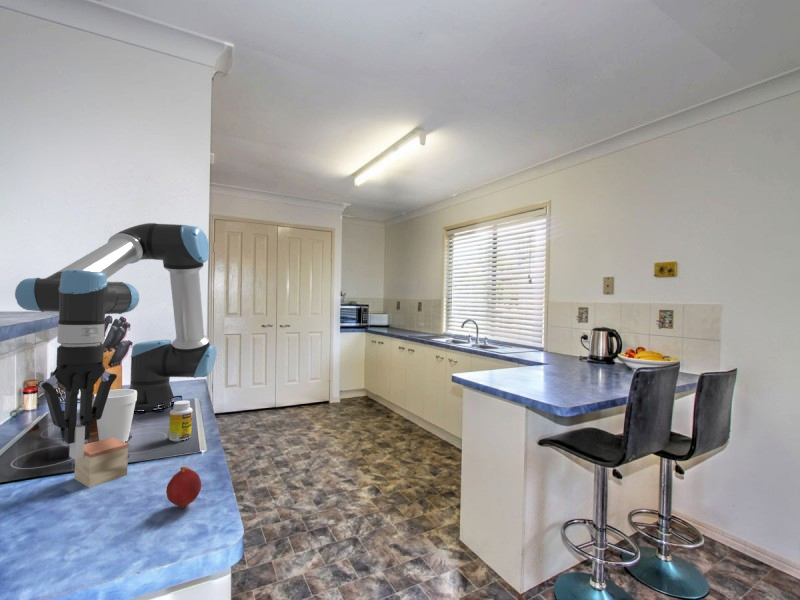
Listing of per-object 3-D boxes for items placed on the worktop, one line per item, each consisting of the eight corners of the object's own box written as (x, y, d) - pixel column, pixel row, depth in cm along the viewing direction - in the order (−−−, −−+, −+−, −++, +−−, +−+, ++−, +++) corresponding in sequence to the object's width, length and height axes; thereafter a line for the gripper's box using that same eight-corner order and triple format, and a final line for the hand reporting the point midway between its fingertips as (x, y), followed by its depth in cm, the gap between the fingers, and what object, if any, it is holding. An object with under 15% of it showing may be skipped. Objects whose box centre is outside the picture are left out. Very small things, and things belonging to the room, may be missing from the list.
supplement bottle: (181, 443, 104) (183, 405, 104) (163, 441, 105) (165, 403, 105) (196, 436, 109) (197, 400, 109) (179, 434, 110) (180, 398, 110)
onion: (179, 497, 77) (181, 458, 77) (206, 500, 76) (208, 460, 76) (158, 513, 71) (160, 470, 71) (187, 517, 70) (189, 473, 70)
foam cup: (111, 449, 98) (113, 399, 98) (82, 445, 100) (84, 395, 100) (143, 437, 107) (145, 390, 107) (116, 433, 109) (118, 387, 109)
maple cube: (111, 467, 89) (112, 437, 89) (127, 475, 85) (128, 443, 85) (74, 478, 82) (75, 446, 82) (89, 488, 79) (90, 454, 79)
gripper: (48, 348, 72) (42, 473, 72) (125, 343, 84) (120, 451, 84) (32, 345, 76) (27, 463, 76) (108, 340, 87) (104, 443, 87)
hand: (76, 456), depth 80 cm, fingers closed
